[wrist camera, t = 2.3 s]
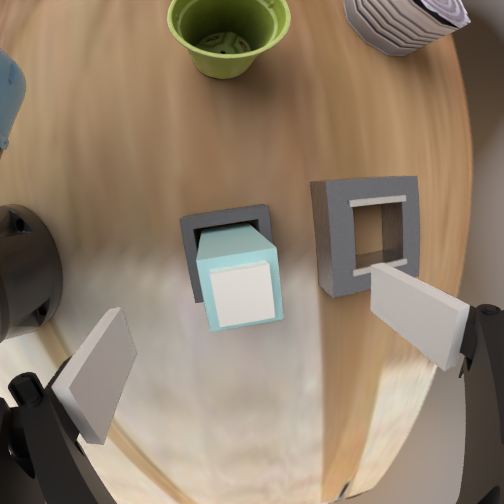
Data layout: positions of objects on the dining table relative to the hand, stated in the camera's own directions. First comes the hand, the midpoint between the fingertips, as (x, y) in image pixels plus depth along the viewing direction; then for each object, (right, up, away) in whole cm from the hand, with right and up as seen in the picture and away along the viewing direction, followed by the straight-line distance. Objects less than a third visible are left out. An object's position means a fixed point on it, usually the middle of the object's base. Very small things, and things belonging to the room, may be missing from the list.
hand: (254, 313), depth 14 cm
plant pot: (-3, +23, +10) cm, 25 cm away
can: (+17, +33, +11) cm, 38 cm away
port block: (+12, +6, +16) cm, 20 cm away
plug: (-2, +3, +14) cm, 15 cm away
